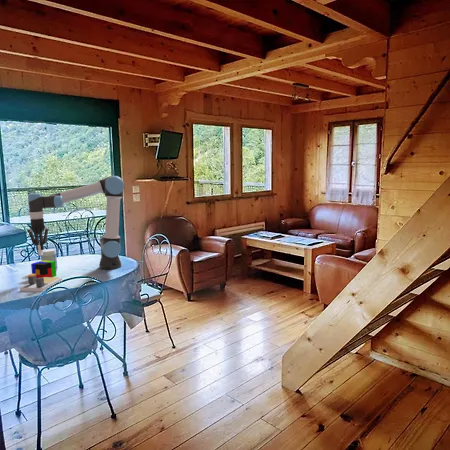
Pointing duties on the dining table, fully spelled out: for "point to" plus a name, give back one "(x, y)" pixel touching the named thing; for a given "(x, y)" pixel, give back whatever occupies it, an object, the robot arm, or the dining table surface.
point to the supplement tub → (49, 256)
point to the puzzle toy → (44, 269)
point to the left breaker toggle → (39, 282)
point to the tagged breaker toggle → (32, 278)
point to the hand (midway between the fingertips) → (40, 255)
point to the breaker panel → (47, 283)
